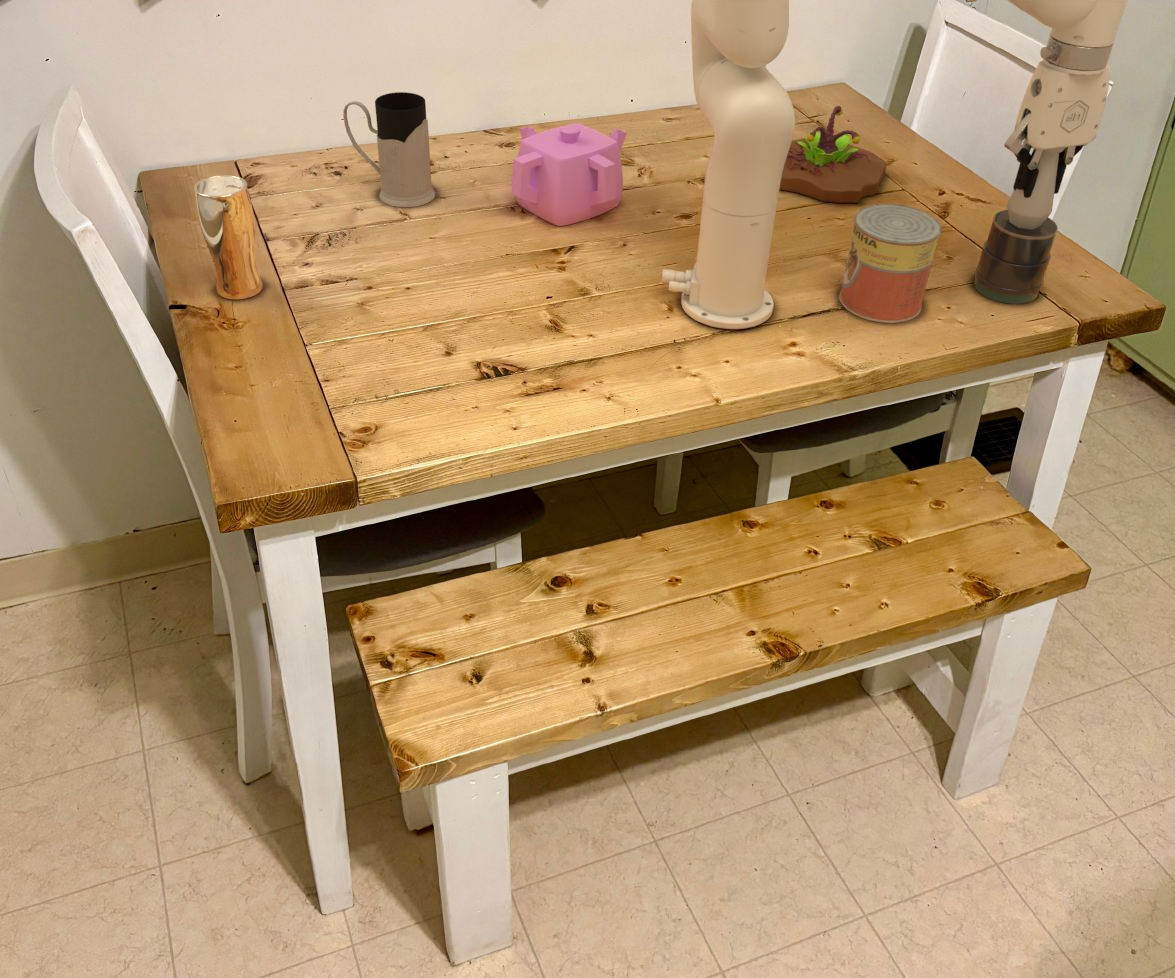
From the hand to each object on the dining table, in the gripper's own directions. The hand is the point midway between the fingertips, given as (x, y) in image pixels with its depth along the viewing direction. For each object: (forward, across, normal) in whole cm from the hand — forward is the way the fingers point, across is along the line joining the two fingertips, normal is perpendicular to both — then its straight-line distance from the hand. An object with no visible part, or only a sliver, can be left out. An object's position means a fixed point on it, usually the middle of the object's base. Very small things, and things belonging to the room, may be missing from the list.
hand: (1035, 190), depth 151 cm
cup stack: (+15, 0, 0) cm, 15 cm away
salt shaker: (+5, 0, 0) cm, 5 cm away
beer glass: (+15, -104, +30) cm, 109 cm away
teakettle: (+15, -51, +43) cm, 69 cm away
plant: (+15, -7, +42) cm, 45 cm away
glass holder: (+15, -77, +54) cm, 96 cm away
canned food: (+15, -20, +2) cm, 25 cm away
